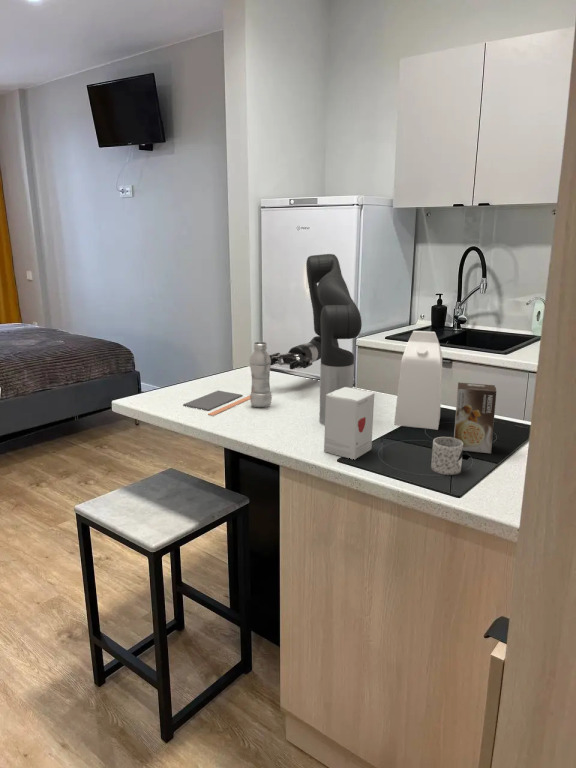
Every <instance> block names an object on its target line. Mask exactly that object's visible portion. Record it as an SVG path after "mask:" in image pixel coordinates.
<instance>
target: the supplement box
mask: <svg viewBox="0 0 576 768" xmlns="http://www.w3.org/2000/svg"><path fill="white" fill-rule="evenodd" d="M374 405H375V392H371V391H367V390H362V389H359V388H358V389H357V388H354V387H353V388H348V387H344V388H341V389H339V390H335V391H334V392H331V393H329V394H326V408H325V425H324V437H323V438H324V440H323V452H326V453H329V454H333V455H335V456H336V455H337V456H340V457H343V458H346V459H349V458H350V460H353V459H354V461H355V460H356V459H357V458H360V457H361V456H363V455H365V454H366V453H367V452H369V451H371V450H372V448H373V447H372V445H373V430H374V429H373V428H374V409H375V406H374Z"/></svg>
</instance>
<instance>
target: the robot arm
mask: <svg viewBox="0 0 576 768" xmlns="http://www.w3.org/2000/svg"><path fill="white" fill-rule="evenodd" d="M305 269H306V277H307V284H308V290H309V291H308V292H309V297H310V301H311V306H312V315H313V318H312V319H313V331H314V333H315V334H316V336H314V337H312V339H311V340H310V341H309V342H306V343H302V344H301V343H300V344H299V345H296V346H294V347H291V348H290V349H289V350H288V352H286V353H282V354H281V353H280V352H275V353H273V354H269V356H270V358H271V366H274V365H278V366H286V365H287V366H289V370H294V369H302V368H303V369H306V368H309V367H310V366H313V363H315V362H317V361H319V360H320V373H319V374H320V375H319V376H320V378H319V381H320V382H319V418H318V421H319V423H320V424H321V425H324V426H325V408H326V394H329V393H331V392H334V391H335V390H339V389H341V388H344V387H348V388H353V389H354V370H355V369H354V368H355V367H354V366H355V365H354V364H355V355H354V353H353V352H352V351H349V350H347V349H344V348H341V347H340V345H339V340H350V339H356V338H358V336H359V335H360V333H361V332H362V325H363V324H362V323H363V322H362V321H363V320H362V316H361V313H360V310H359V308H358V306H357V304H356V303H355V302H354V300H353V298H352V297H351V293H350V291H349V288H348V284H347V283H346V281H345V279H344V277H343V274H342V269H341V264H340V262H339V258H338V257H337V256H336V254H334V253H325V254H316V255H310V256H308V257H307V259H306V268H305Z"/></svg>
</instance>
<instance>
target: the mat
mask: <svg viewBox="0 0 576 768" xmlns="http://www.w3.org/2000/svg"><path fill="white" fill-rule="evenodd" d="M241 397H244V396H243V394H242V393H241V394H239V393H234V392H229V391H223V390H216V391H214V392H210V393H208V394H206V395H203V396H201V397H197V398H195V399H193V400H190V401H187V402H185V403H183V404H182V407H186V406H187V408H191V407H192V409H196V408H197V409H196V410H201V409H202V410H203V411H206V412H207V411H208V412H211V411H212V410H215V409H217V408H219V407H221V406H223V405H224V406H225V405H227V404H229V403H230V402H231V403H232V402H233V401H235V400H239V398H241ZM202 410H201V411H202Z"/></svg>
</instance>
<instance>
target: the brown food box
mask: <svg viewBox="0 0 576 768" xmlns="http://www.w3.org/2000/svg"><path fill="white" fill-rule="evenodd" d="M456 393H457V394H456V402H455V404H456V405H455V416H454V417H455V418H454V431H453V438H456V439H459V440H461V441H462V442H463V451H465V452H473V453H474V452H475V453H482V454H483V453H484V454H492V447H493V445H492V444H493V436H494V426H495V425H494V424H495V416H496V415H495V412H496V400H497V388H496V385H494V384H483V383H468V382H458V383H457V392H456Z"/></svg>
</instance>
